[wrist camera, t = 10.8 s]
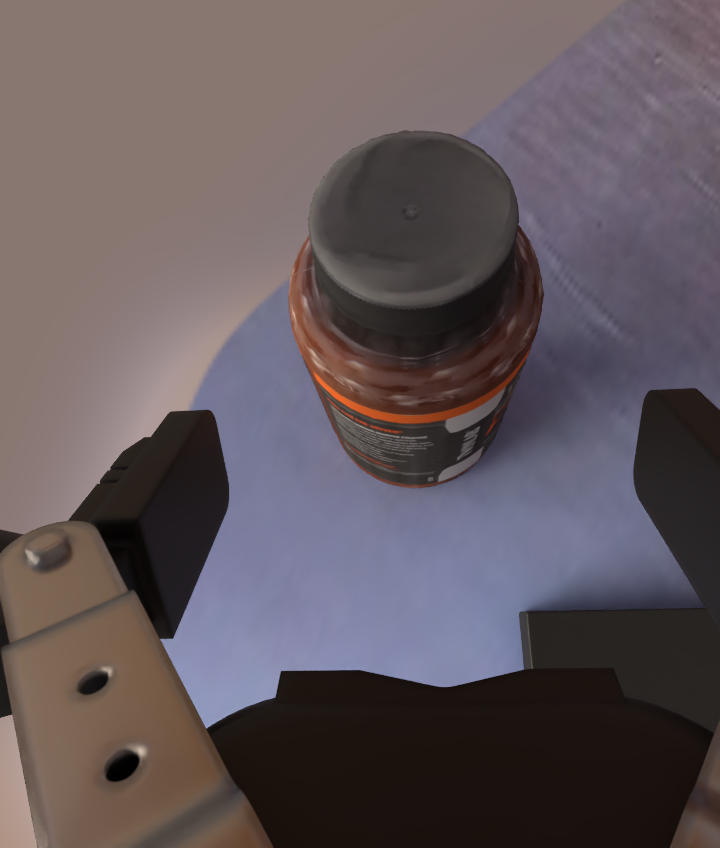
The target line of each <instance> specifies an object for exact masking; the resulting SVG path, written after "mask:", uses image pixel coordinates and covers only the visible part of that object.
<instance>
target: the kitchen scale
mask: <svg viewBox="0 0 720 848" xmlns="http://www.w3.org/2000/svg"><path fill="white" fill-rule="evenodd" d="M519 618H520V629H521V640H522V650H523V661H524V670H525V669H540V668H614V671H615V673H616V676H617V678H618V681H619V684H620V686H621V689H622V691H623V694H624V696H627V697H631V698H636V699H639V700H642V701H646V702H649V703H652V704H655V705H658V706H661V707H663V708H666V709H668V710H671V711H673V712H676V713H678V714H680V715H682V716H684V717H686V718H688V719H690V720H692V721H694V722H696V723H698V724H700V725H702V726H703V727H705V728H707V729H708V730H710V731H711V732H713V733H715V731H716V728H717V725H718V722H719V720H720V631H719V629H718V627H717V626H716V624H715V623H714V621H713V619H712V618H711V616H710V614H709V613H708V611H707V609H706V608H671V609H620V610H570V611H525V612H520V613H519Z"/></svg>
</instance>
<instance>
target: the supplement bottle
mask: <svg viewBox="0 0 720 848" xmlns="http://www.w3.org/2000/svg"><path fill="white" fill-rule="evenodd" d="M518 223H519V212H518V203H517V198H516V195H515V192H514V189H513V186H512V184H511V181H510V179H509V178H508V176H507V175H506V173H505V172H504V170H503V169H502V167H501V166H500V165H499V164H498V163H497V162H496V161H495V160H494V159H493V158H492V157H491V156H489V155H488V154H487V153H486V152H485V151H484V150H483V149H481V148H480V147H478V146H476V145H474V144H472V143H470V142H468V141H467V140H464V139H461V138H459V137H456V136H454V135H451V134H444V133H440V132H429V131H412V132H411V131H401V132H398V133H393V134H386V135H383V136H380V137H377V138H373V139H371V140H369V141H367V142H366V143H364V144H362V145H360V146H358V147H356V148H354V149H352V150H351V151H349V152H348V153H347V154H346V155H345V156H343V157H342V158H340V159H339V160H338V161H337V162H336V163H334V165H333V166H332V167H331V168H330V170H329V171H328V172H327V174H326V175H325V176H324V177H323V178H322V180H321V181H320V184H319V186H318V187H317V189H316V191H315V193H314V196H313V200H312V202H311V205H310V214H309V236H308V237H307V239H306V240H305V242H304V244H303V246H302V248H301V250H300V252H299V254H298V256H297V259H296V261H295V263H294V266H293V270H292V274H291V278H290V285H289V296H288V299H289V313H290V319H291V325H292V330H293V334H294V337H295V340H296V342H297V345H298V347H299V350H300V352H301V355H302V357H303V360H304V362H305V365H306V367H307V369H308V371H309V374H310V376H311V378H312V380H313V383H314V385H315V387H316V390H317V392H318V394H319V397H320V399H321V401H322V403H323V406H324V408H325V411H326V413H327V416H328V418H329V420H330V422H331V425H332V427H333V429H334V431H335V433H336V434H337V436H338V438H339V441H340V443H341V445H342V447H343V448H344V450H345V451H346V453H347V454H348V456H349V457H350V459H351V460H352V461H353V462H354V463H355V464H356V465H357V466H358V467H359V468H361V469H362V470H363V471H365V472H366V473H368V474H370V475H371V476H373V477H374V478H376V479H378V480H380V481H383V482H386V483H388V484H392V485H396V486H401V487H407V488H423V487H431V486H435V485H439V484H442V483H445V482H448V481H450V480H453V479H455V478H457V477H458V476H460V475H462V474H464V473H465V472H466V471H468V470H469V469H470V468H471V467H473V466H474V465H475V464H476V463H477V462H478V461H479V460H480V458H481V457H482V456H483V455H484V453H485V452H486V450H487V449H488V447H489V446H490V444H491V443H492V441H493V440H494V438H495V436H496V433H497V431H498V428H499V426H500V424H501V422H502V419H503V416H504V414H505V412H506V410H507V406H508V403H509V400H510V398H511V396H512V394H513V390H514V388H515V386H516V384H517V381H518V379H519V377H520V374H521V371H522V369H523V366H524V365H525V362H526V359H527V356H528V354H529V352H530V349H531V346H532V343H533V341H534V338H535V335H536V333H537V329H538V325H539V320H540V315H541V311H542V303H543V297H544V291H543V285H542V277H541V274H540V268H539V264H538V260H537V257H536V255H535V252H534V249H533V247H532V245H531V243H530V241H529V239H528V238H527V236H526V235H525V233H524V232H523V231H522V229H521V227H520V226H519V225H518Z"/></svg>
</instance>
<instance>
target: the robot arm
mask: <svg viewBox="0 0 720 848" xmlns="http://www.w3.org/2000/svg"><path fill="white" fill-rule="evenodd" d="M633 474H634V485H635V490H636V493H637V496H638V498H639V500H640V502H641V503H642V505H643V507H644V508H645V510H646V512H647V513H648V515H649V517H650V518H651V520H652V521H653V523H654V525H655V526H656V528H657V530H658V531H659V533H660V534H661V536H662V538H663V539H664V541H665V543H666V544H667V546H668V548H669V549H670V551H671V552H672V554H673V556H674V557H675V559H676V561H677V562H678V564H679V565H680V567H681V569H682V570H683V572H684V574H685V575H686V577H687V578H688V580H689V582H690V583H691V585H692V587H693V588H694V590H695V592H696V593H697V595H698V596H699V598H700V600H701V601H702V603H703V605H704V606H705V608H706V609H707V611H708V613H709V614H710V616H711V618H712V619H713V621H714V623H715V624H716V626H717V627H718V629H719V631H720V410H719V409H718V408H717V407H716V406H715V405H714V404H712V403H711V402H710V401H709V400H708V399H707V398H706V397H705V396H704V395H703V394H702V393H701V392H700V391H699V390H697V389H695V388H687V389H666V390H650V391H649V392H648V393H647V394H646V396H645V398H644V402H643V407H642V413H641V420H640V427H639V434H638V440H637V447H636V454H635V461H634V471H633ZM228 503H229V482H228V476H227V471H226V467H225V462H224V457H223V452H222V447H221V443H220V438H219V433H218V428H217V423H216V420H215V417H214V415H213V413H212V412H211V411H210V410H195V411H174V412H170V413H169V414H168V415H167V416H166V417H165V419H164V420H163V421H162V423H161V424H160V425H159V427H158V428H157V430H156V431H155V432H154V434H153V435H152V436H151V437H144V438H143V439H141V440H140V441H138V442H137V443H135V444H134V445H132V446H131V447H129V448H128V449H126V450H125V451H123V452H122V453H121V455H120V456H119V457H118V458H117V460H116V461H115V462H114V463H113V465H112V466H111V470H109V471H107V472H106V474H105V475H104V476H103V477H102V479H101V480H100V484H97V485H96V486H95V488H94V489H93V490H92V491H91V492H90V494H89V495H88V496H87V497H86V499H85V500H84V501H83V503H82V504H81V505H80V506H79V508H78V509H77V510H76V511H75V513H74V514H73V515H72V516H71V518H70V519H69V520H68V521H64V522H57V523H53V524H49V525H46V526H43V527H40V528H37V529H35V530H32V531H30V532H29V533H27V534H25V535H23V536H21V537H19V538H18V539H16V540H15V541H13V542H12V543H11V544H9V545H8V546H7V547H6V548H5V549H4V550H3V551H2V552H1V554H0V718H1V717H4V716H8V715H13V720H14V725H15V730H16V736H17V741H18V746H19V752H20V757H21V763H22V768H23V774H24V779H25V784H26V789H27V795H28V800H29V806H30V811H31V817H32V821H33V827H34V832H35V838H36V843H37V848H720V720H719V722H718V725H717V728H716V731H715V733H713V732H711V731H710V730H708V729H707V728H705V727H703V726H702V725H700V724H698V723H696V722H694V721H692V720H690V719H688V718H686V717H684V716H682V715H680V714H678V713H676V712H673V711H671V710H668V709H666V708H663V707H661V706H658V705H655V704H652V703H649V702H646V701H642V700H639V699H636V698H631V697H627V696H624V694H623V691H622V689H621V686H620V684H619V681H618V678H617V676H616V673H615V671H614V668H540V669H525V670H521V671H517V672H512V673H508V674H504V675H500V676H496V677H491V678H487V679H483V680H479V681H474V682H470V683H466V684H462V685H457V686H453V687H436V686H431V685H427V684H422V683H417V682H413V681H408V680H403V679H399V678H394V677H389V676H384V675H380V674H375V673H370V672H366V671H361V670H337V671H281V674H280V679H279V683H278V688H277V693H276V698H273V699H269V700H265V701H262V702H259V703H256V704H254V705H251V706H248V707H245V708H243V709H241V710H239V711H237V712H235V713H233V714H231V715H228V716H227V717H225V718H223V719H222V720H220V721H218V722H216V723H215V724H213V725H211V726H210V727H208V728H207V729H206V728H205V726H204V724H203V722H202V720H201V718H200V716H199V714H198V712H197V710H196V708H195V707H194V705H193V703H192V701H191V699H190V697H189V695H188V693H187V691H186V689H185V687H184V685H183V683H182V681H181V679H180V677H179V675H178V674H177V672H176V670H175V668H174V666H173V664H172V662H171V660H170V658H169V656H168V654H167V652H166V650H165V648H164V646H163V644H162V642H161V641H160V639H173V637H174V635H175V633H176V630H177V628H178V626H179V623H180V621H181V619H182V616H183V614H184V611H185V609H186V607H187V604H188V602H189V600H190V597H191V595H192V592H193V590H194V588H195V585H196V583H197V581H198V578H199V576H200V573H201V571H202V569H203V566H204V564H205V562H206V559H207V557H208V554H209V552H210V550H211V547H212V545H213V543H214V540H215V538H216V535H217V533H218V531H219V528H220V526H221V524H222V521H223V519H224V516H225V514H226V511H227V508H228Z"/></svg>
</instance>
